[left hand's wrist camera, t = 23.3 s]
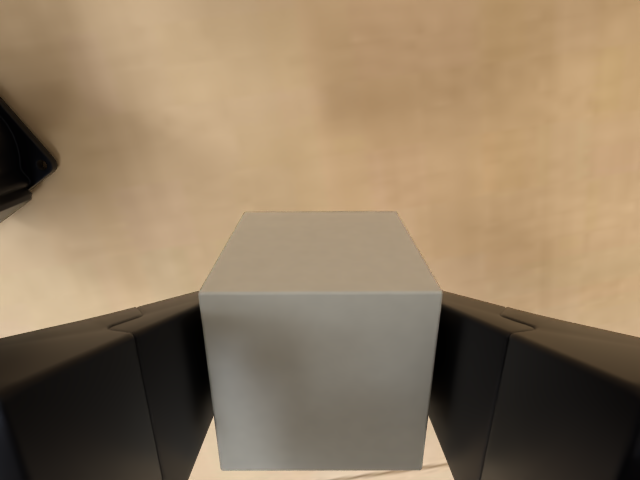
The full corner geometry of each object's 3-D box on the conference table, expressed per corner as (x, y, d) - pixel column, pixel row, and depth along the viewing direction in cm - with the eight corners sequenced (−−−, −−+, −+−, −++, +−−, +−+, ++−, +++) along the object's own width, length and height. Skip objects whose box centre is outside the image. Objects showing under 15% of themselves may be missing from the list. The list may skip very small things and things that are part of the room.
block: (253, 340, 13) (219, 471, 8) (243, 211, 11) (196, 292, 7) (388, 339, 13) (422, 471, 8) (397, 210, 11) (444, 291, 7)
